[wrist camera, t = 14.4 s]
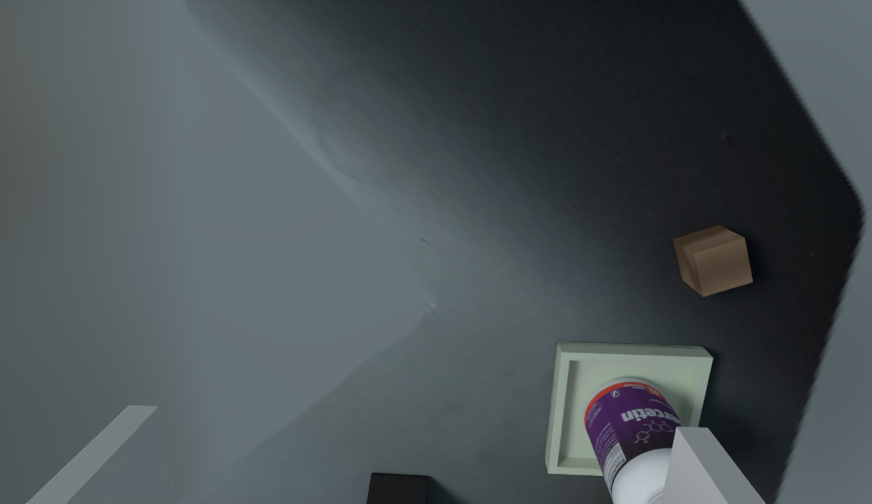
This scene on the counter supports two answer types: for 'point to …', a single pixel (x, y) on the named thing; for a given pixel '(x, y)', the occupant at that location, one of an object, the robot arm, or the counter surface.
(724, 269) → the walnut block
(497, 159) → the counter surface
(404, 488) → the phone stand
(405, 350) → the counter surface
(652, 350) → the tray
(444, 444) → the counter surface
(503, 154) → the counter surface
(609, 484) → the pill bottle
